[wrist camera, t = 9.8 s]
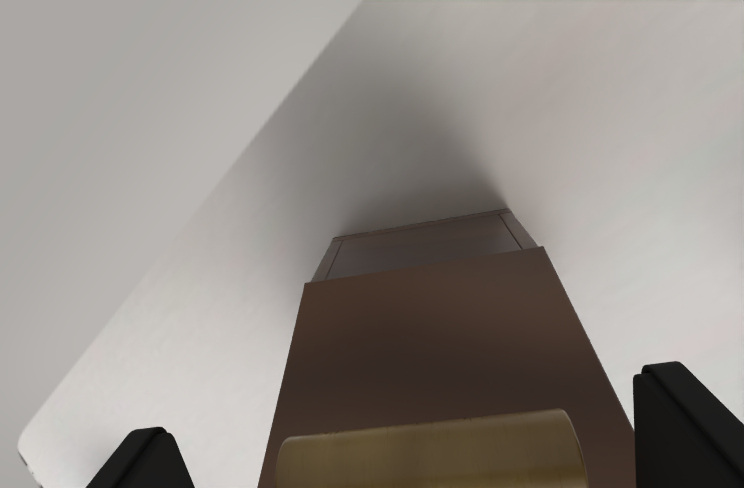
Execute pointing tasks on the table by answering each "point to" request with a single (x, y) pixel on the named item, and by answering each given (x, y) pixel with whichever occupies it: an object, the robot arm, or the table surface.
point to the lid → (446, 384)
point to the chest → (424, 244)
